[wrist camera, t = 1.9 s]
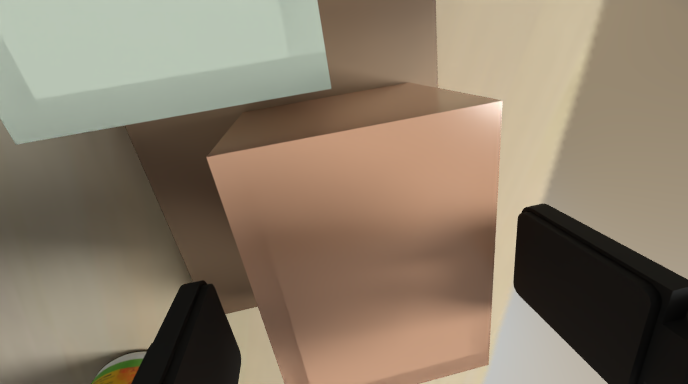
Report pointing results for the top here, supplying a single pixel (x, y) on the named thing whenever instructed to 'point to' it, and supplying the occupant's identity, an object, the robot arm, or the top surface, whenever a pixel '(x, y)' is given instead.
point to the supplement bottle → (120, 369)
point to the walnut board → (210, 126)
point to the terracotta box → (368, 230)
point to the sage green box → (150, 60)
